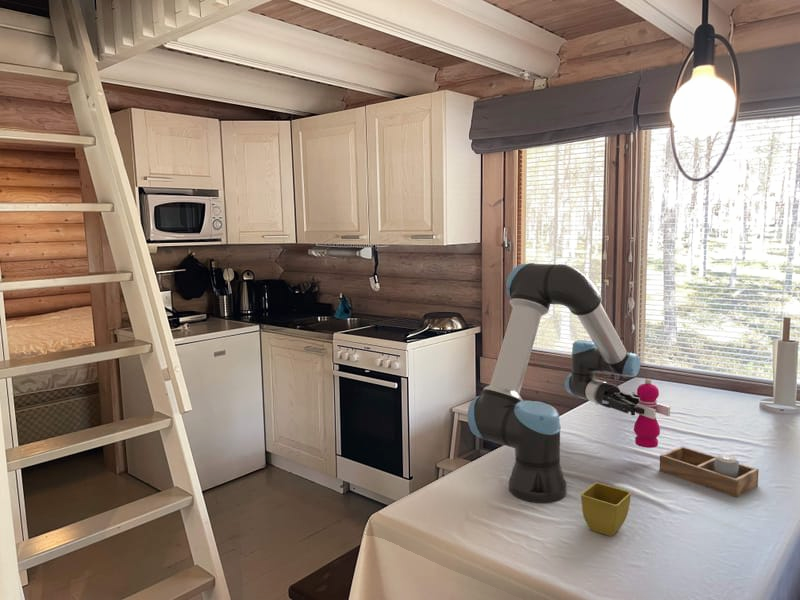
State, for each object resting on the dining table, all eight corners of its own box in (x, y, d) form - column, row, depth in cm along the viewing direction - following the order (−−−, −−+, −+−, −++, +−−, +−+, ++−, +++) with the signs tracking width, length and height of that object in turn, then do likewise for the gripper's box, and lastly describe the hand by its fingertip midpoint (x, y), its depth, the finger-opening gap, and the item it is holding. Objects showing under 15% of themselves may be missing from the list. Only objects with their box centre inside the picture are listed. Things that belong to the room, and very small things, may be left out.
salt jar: (731, 490, 154) (732, 463, 154) (709, 483, 159) (710, 457, 158) (742, 484, 158) (743, 458, 157) (720, 478, 162) (721, 452, 161)
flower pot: (631, 528, 139) (632, 491, 138) (616, 543, 133) (617, 505, 132) (595, 516, 145) (595, 481, 144) (579, 531, 139) (579, 494, 138)
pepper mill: (655, 440, 180) (656, 375, 178) (663, 448, 173) (665, 381, 171) (630, 439, 181) (632, 375, 179) (637, 448, 174) (639, 381, 172)
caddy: (736, 501, 151) (737, 480, 150) (659, 473, 168) (659, 455, 168) (757, 489, 157) (758, 469, 156) (681, 464, 174) (681, 446, 174)
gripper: (624, 401, 196) (684, 421, 175) (581, 408, 189) (638, 430, 168) (625, 379, 195) (684, 396, 174) (581, 385, 188) (638, 404, 167)
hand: (661, 412), depth 171 cm, fingers closed on pepper mill, 5 cm apart
